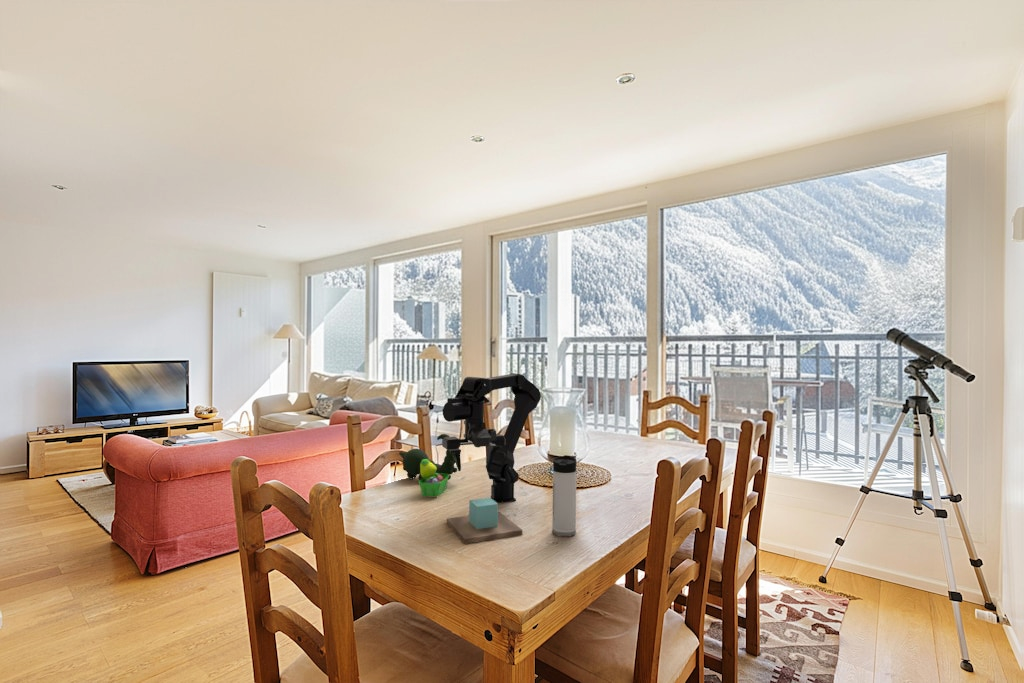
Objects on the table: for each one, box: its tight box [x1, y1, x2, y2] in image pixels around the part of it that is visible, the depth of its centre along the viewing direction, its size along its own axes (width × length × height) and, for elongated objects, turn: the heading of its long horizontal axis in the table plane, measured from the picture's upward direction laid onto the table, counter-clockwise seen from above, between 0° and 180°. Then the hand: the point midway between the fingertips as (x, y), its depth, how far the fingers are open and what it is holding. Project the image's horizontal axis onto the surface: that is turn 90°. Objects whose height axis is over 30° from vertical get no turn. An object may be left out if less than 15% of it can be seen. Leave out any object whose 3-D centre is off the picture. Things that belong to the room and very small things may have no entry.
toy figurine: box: [398, 433, 458, 481], centre depth 183 cm, size 9×19×25 cm
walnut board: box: [445, 510, 523, 545], centre depth 136 cm, size 16×16×1 cm
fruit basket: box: [418, 459, 449, 498], centre depth 168 cm, size 11×9×11 cm
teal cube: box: [468, 497, 499, 529], centre depth 136 cm, size 6×6×6 cm
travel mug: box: [551, 454, 577, 537], centre depth 134 cm, size 6×7×20 cm
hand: (473, 469), depth 152 cm, fingers open, 9 cm apart
